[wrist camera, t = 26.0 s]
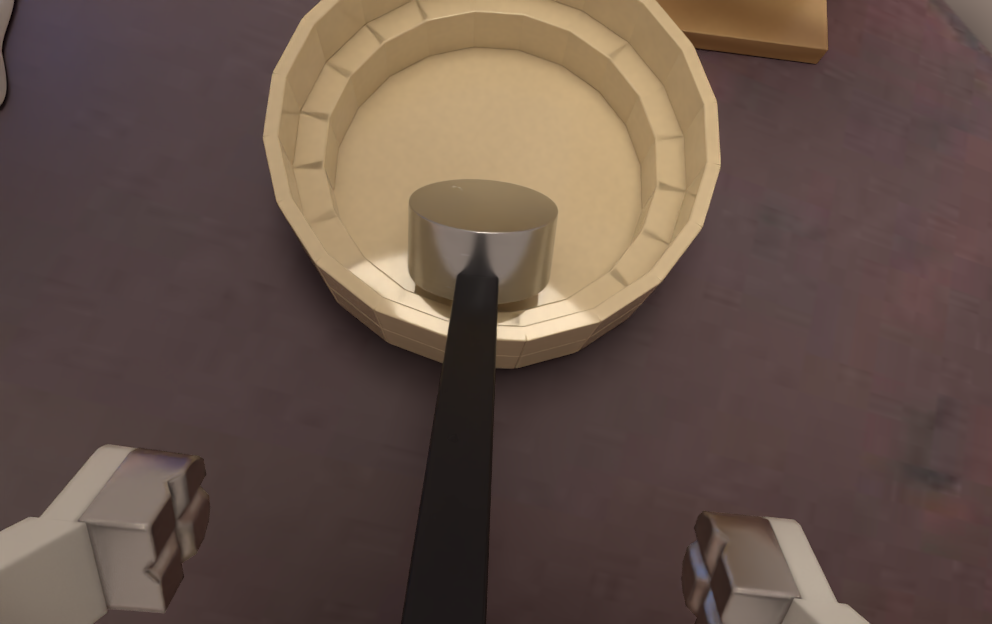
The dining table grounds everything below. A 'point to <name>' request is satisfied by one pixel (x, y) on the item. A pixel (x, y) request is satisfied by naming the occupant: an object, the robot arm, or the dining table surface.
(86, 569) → the robot arm
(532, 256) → the black handled spatula
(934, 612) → the dining table surface
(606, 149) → the bowl
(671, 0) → the wooden column stand
